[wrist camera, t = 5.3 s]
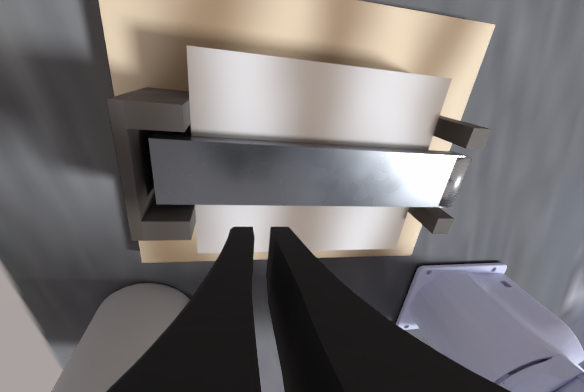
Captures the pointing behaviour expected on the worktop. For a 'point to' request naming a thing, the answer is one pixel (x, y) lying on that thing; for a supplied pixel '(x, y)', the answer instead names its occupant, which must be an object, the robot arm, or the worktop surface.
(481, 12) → the worktop surface
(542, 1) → the worktop surface
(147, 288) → the cup
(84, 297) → the worktop surface
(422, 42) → the board
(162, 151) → the retention strap
